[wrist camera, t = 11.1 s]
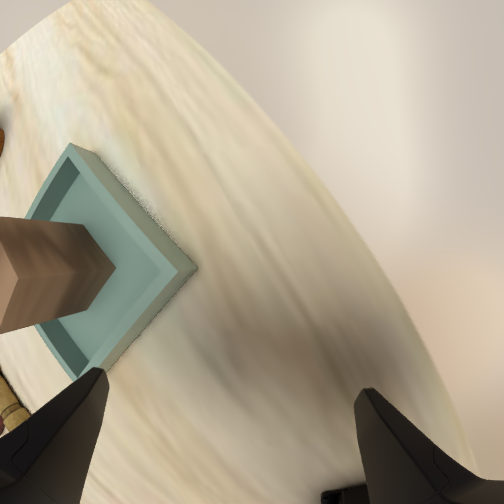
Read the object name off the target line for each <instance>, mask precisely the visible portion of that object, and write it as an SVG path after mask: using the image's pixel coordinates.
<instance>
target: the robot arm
mask: <svg viewBox="0 0 504 504" xmlns="http://www.w3.org/2000/svg"><path fill="white" fill-rule="evenodd" d="M108 393H109V382H108V378H107V375H106V372H105V370H104V369H102V368H98V367H92V368H91V369H90V370H88V371H87V372H86V373H84V374H83V375H82V376H81V377H79V378H78V379H77V380H75V381H74V382H73V383H72V384H70V385H69V386H68V387H67V388H65V389H64V390H63V391H62V392H60V393H59V394H58V395H56V396H55V397H54V398H53V399H51V400H50V401H49V402H48V403H46V404H45V405H44V406H43V407H41V408H40V409H39V410H37V411H36V412H35V413H34V414H32V415H31V416H30V417H29V418H28V419H27V420H25V421H23V422H22V423H21V424H20V425H18V426H17V427H16V428H14V429H13V430H12V431H10V432H9V433H7V434H6V435H4V436H3V437H1V438H0V504H80V500H81V495H82V491H83V488H84V484H85V480H86V476H87V473H88V469H89V465H90V462H91V459H92V455H93V452H94V448H95V445H96V442H97V439H98V436H99V432H100V429H101V426H102V421H103V416H104V411H105V407H106V402H107V397H108ZM354 412H355V420H356V430H357V438H358V444H359V449H360V454H361V458H362V463H363V468H364V472H365V477H366V482H367V485H365V486H360V487H354V488H349V489H343V490H337V491H330V492H324V493H322V494H321V504H504V481H499V480H498V481H497V480H486V479H482V478H480V477H478V476H476V475H475V474H473V473H472V472H470V471H469V470H467V469H466V468H464V467H463V466H462V465H460V464H459V463H457V462H456V461H455V460H453V459H452V458H451V457H449V456H448V455H447V454H446V453H445V452H443V451H442V450H441V449H440V448H439V447H438V446H437V445H436V444H434V443H433V442H432V441H431V440H430V439H429V438H428V437H427V436H426V435H424V434H423V433H422V432H421V431H420V430H419V429H418V428H417V427H416V426H415V425H413V424H412V423H411V422H410V421H409V420H408V419H407V418H406V417H405V416H404V415H403V414H401V413H400V412H399V411H398V410H397V409H396V408H395V407H394V406H393V405H392V404H391V403H389V402H388V401H387V400H386V399H385V398H384V397H383V396H382V395H381V394H380V393H379V392H378V391H377V390H375V389H374V388H363V389H362V390H361V392H360V393H359V395H358V397H357V399H356V400H355V403H354ZM325 496H327V497H325Z"/></svg>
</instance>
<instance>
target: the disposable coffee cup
mask: <svg viewBox="0 0 504 504" xmlns="http://www.w3.org/2000/svg"><path fill="white" fill-rule="evenodd" d="M3 144H4V132H3V130H2V129H0V155H1V152H2V149H3Z"/></svg>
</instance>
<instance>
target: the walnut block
mask: <svg viewBox="0 0 504 504" xmlns="http://www.w3.org/2000/svg"><path fill="white" fill-rule="evenodd" d="M115 269H116V267H115V266H114V264H113V263H112V262H111V261H110V259H109V258H108V257H107V255H106V254H105V253H104V252H103V250H102V249H101V248H100V246H99V245H98V244H97V242H96V241H95V240H94V239H93V237H92V236H91V234H90V233H89V232H88V230H87V229H86V228H85V226H84V225H83V224H75V223H64V222H54V221H43V220H33V219H22V218H11V217H0V334H3V333H6V332H10V331H14V330H18V329H21V328H25V327H29V326H32V325H36V324H39V323H43V322H47V321H50V320H54V319H58V318H61V317H65V316H68V315H72V314H76V313H79V312H83V311H86V310H87V309H88V308H89V306H90V305H91V303H92V302H93V300H94V299H95V298H96V296H97V295H98V293H99V292H100V290H101V289H102V287H103V286H104V285H105V283H106V282H107V280H108V279H109V278H110V276H111V275H112V273H113V272H114V271H115Z"/></svg>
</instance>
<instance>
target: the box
mask: <svg viewBox="0 0 504 504" xmlns="http://www.w3.org/2000/svg"><path fill="white" fill-rule="evenodd" d="M25 219H33V220H43V221H54V222H64V223H75V224H83V225H84V226H85V228H86V229H87V230H88V232H89V233H90V234H91V236H92V237H93V239H94V240H95V241H96V242H97V244H98V245H99V246H100V248H101V249H102V250H103V252H104V253H105V254H106V255H107V257H108V258H109V259H110V261H111V262H112V263H113V264H114V266H115V267H116V269H115V271H114V272H113V273H112V275H111V276H110V278H109V279H108V280H107V282H106V283H105V285H104V286H103V287H102V289H101V290H100V292H99V293H98V295H97V296H96V298H95V299H94V300H93V302H92V303H91V305H90V306H89V308H88V309H87V310H86V311H83V312H79V313H76V314H72V315H68V316H65V317H61V318H58V319H54V320H50V321H47V322H43V323H39V324H36V325H34V326H35V328H36V330H37V331H38V333H39V334H40V336H41V337H42V339H43V340H44V342H45V343H46V345H47V346H48V348H49V349H50V351H51V352H52V354H53V355H54V357H55V358H56V359H57V361H58V362H59V364H60V365H61V366H62V368H63V369H64V370H65V372H66V373H67V374H68V376H69V377H70V378H71V379H72V381H73V382H74V381H75V380H77V379H78V378H79V377H81V376H82V375H83V374H84V373H86V372H87V371H88V370H90V369H91V368H92V367H98V368H102V369H104V370H105V372H106V373H107V371H108V370H109V369H110V368H111V367H112V365H113V364H114V363H115V362H116V361H117V360H118V358H119V357H120V356H121V355H122V354H123V353H124V351H125V350H126V349H127V348H128V347H129V346H130V344H131V343H132V342H133V341H134V340H135V339H136V337H137V336H138V335H139V334H140V333H141V332H142V330H143V329H144V328H145V327H146V326H147V325H148V324H149V322H150V321H151V320H152V319H153V318H154V317H155V316H156V314H157V313H158V312H159V311H160V310H161V309H162V308H163V307H164V305H165V304H166V303H167V302H168V301H169V300H170V299H171V297H172V296H173V295H174V294H175V293H176V292H177V291H178V290H179V289H180V287H181V286H182V285H183V284H184V283H185V282H186V281H187V280H188V279H189V277H190V276H191V275H192V274H193V273H194V272H195V271H196V270H197V269H198V267H197V266H196V265H195V264H194V263H193V262H192V261H191V260H190V259H189V258H188V257H187V256H186V255H185V254H184V253H183V251H182V250H181V249H180V248H179V247H178V246H177V245H176V244H175V243H174V242H173V241H172V240H171V239H170V238H169V237H168V235H167V234H166V233H165V232H164V231H163V230H162V229H161V228H160V227H159V226H158V225H157V223H156V222H155V221H154V220H153V219H152V218H151V217H150V216H149V215H148V214H147V212H146V211H145V210H144V209H143V208H142V207H141V206H140V205H139V204H138V202H137V201H136V200H135V199H134V198H133V197H132V196H131V195H130V193H129V192H128V191H127V190H126V189H125V188H124V187H123V185H122V184H121V183H120V182H119V181H118V180H117V178H116V177H115V176H114V175H113V174H112V173H111V171H110V170H109V169H108V168H107V167H106V166H105V164H104V163H103V162H102V161H101V160H100V159H99V157H98V156H97V155H96V154H95V153H93V152H91V151H88V150H86V149H84V148H81V147H79V146H77V145H74V144H72V143H69V145H68V146H67V147H66V149H65V150H64V152H63V153H62V155H61V156H60V158H59V159H58V161H57V162H56V164H55V166H54V167H53V169H52V170H51V172H50V174H49V175H48V177H47V179H46V180H45V182H44V184H43V185H42V187H41V189H40V191H39V192H38V194H37V196H36V198H35V199H34V201H33V203H32V205H31V207H30V209H29V211H28V213H27V215H26V217H25Z"/></svg>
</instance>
